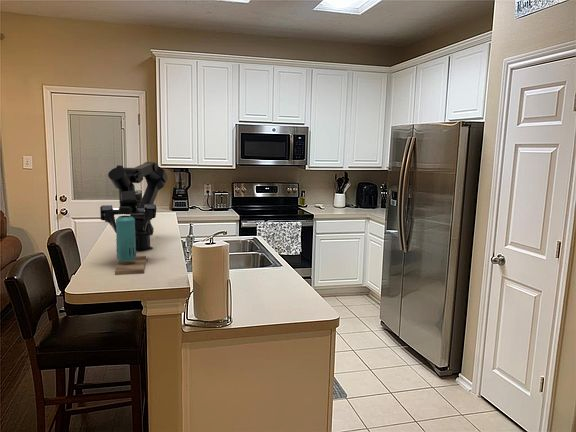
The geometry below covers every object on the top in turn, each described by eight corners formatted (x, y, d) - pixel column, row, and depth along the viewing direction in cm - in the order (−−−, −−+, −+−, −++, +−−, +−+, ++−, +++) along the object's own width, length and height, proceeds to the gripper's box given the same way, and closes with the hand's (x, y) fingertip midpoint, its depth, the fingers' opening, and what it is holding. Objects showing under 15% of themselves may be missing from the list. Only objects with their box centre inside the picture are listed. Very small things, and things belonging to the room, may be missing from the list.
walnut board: (120, 260, 156) (120, 257, 155) (146, 259, 158) (146, 256, 158) (114, 274, 139) (114, 271, 138) (143, 273, 141) (143, 269, 141)
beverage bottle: (129, 266, 144) (128, 208, 141) (112, 264, 146) (110, 207, 142) (140, 261, 151) (139, 205, 147) (123, 259, 152) (122, 204, 149)
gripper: (99, 182, 146) (100, 219, 138) (155, 182, 153) (160, 217, 145) (99, 201, 154) (101, 237, 146) (153, 200, 162) (157, 234, 154)
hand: (130, 231), depth 148 cm, fingers open, 9 cm apart
